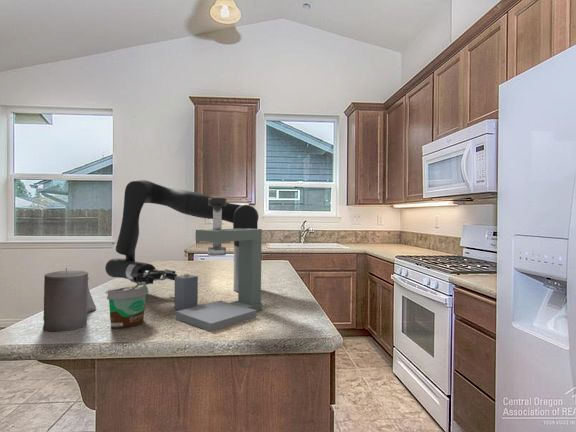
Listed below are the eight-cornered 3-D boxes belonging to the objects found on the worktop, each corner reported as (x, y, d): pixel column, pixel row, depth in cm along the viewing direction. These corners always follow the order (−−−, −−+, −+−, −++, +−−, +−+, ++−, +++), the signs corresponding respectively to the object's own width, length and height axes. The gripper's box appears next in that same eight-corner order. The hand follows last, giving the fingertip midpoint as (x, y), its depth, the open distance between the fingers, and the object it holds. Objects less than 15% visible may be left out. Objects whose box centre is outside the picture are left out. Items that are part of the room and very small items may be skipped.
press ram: (218, 253, 99) (218, 199, 99) (229, 254, 96) (230, 198, 96) (204, 254, 96) (204, 198, 96) (215, 256, 92) (215, 197, 92)
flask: (65, 310, 102) (65, 277, 102) (91, 305, 107) (92, 274, 107) (72, 315, 97) (72, 280, 97) (100, 310, 102) (100, 277, 102)
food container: (128, 333, 83) (128, 292, 83) (106, 331, 84) (107, 291, 84) (157, 318, 95) (157, 282, 95) (138, 316, 96) (138, 281, 96)
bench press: (237, 302, 113) (237, 228, 113) (272, 311, 102) (273, 229, 102) (175, 318, 95) (176, 229, 95) (210, 331, 85) (211, 232, 85)
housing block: (188, 305, 109) (188, 271, 109) (197, 308, 106) (197, 273, 106) (174, 308, 105) (174, 273, 105) (183, 311, 102) (183, 275, 102)
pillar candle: (33, 330, 84) (34, 270, 84) (64, 318, 94) (65, 264, 94) (67, 333, 83) (68, 272, 83) (96, 321, 92) (97, 266, 92)
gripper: (121, 264, 118) (144, 270, 108) (159, 260, 129) (183, 265, 119) (120, 285, 118) (143, 293, 108) (158, 280, 129) (182, 287, 119)
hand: (164, 278), depth 113 cm, fingers open, 8 cm apart
